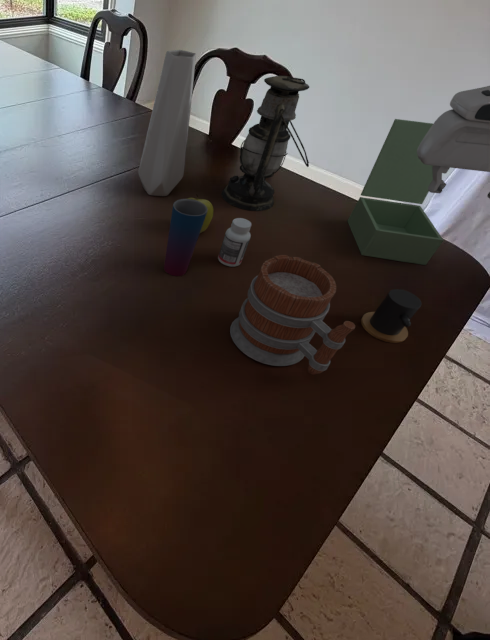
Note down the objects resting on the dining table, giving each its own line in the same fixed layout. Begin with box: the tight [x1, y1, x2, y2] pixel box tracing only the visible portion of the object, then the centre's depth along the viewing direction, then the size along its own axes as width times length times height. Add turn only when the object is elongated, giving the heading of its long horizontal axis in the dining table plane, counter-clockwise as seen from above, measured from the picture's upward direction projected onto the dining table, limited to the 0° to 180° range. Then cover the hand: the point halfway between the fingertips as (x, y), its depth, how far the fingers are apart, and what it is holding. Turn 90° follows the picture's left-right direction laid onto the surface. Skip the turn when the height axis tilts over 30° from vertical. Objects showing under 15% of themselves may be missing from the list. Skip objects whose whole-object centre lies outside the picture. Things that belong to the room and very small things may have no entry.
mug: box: [229, 254, 356, 376], centre depth 76 cm, size 14×19×15 cm
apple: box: [187, 193, 214, 234], centre depth 106 cm, size 8×8×10 cm
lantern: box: [220, 75, 310, 212], centre depth 112 cm, size 19×19×30 cm
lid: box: [360, 118, 434, 205], centre depth 108 cm, size 18×15×5 cm
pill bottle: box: [217, 217, 252, 268], centre depth 97 cm, size 5×5×10 cm
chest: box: [346, 196, 445, 266], centre depth 108 cm, size 17×15×7 cm
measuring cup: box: [370, 288, 422, 335], centre depth 83 cm, size 8×6×7 cm
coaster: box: [360, 311, 409, 344], centre depth 87 cm, size 8×8×1 cm
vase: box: [137, 49, 197, 197], centre depth 111 cm, size 12×12×33 cm
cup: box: [163, 198, 208, 277], centre depth 92 cm, size 7×7×15 cm
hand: (463, 195), depth 74 cm, fingers open, 8 cm apart
